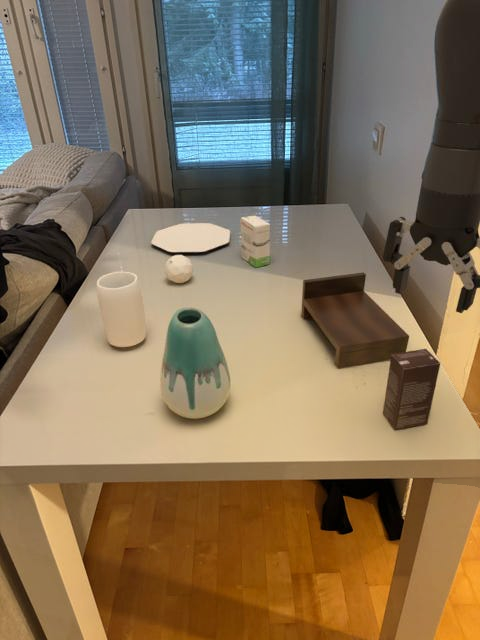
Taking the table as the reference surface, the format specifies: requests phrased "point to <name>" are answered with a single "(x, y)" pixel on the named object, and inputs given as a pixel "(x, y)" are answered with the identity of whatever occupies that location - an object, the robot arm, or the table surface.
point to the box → (410, 388)
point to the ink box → (255, 241)
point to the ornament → (178, 268)
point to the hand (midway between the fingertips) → (429, 300)
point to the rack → (352, 320)
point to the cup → (121, 308)
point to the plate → (191, 238)
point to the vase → (193, 366)
